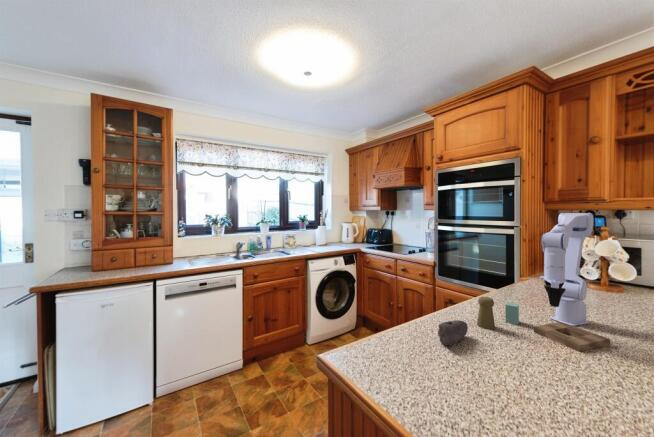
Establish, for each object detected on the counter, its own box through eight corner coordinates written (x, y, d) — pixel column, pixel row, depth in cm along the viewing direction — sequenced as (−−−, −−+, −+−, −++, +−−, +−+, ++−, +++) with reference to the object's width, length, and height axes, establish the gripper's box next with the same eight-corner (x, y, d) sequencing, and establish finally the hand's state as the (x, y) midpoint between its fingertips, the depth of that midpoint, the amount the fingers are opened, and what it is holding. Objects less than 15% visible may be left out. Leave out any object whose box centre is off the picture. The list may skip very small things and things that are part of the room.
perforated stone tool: (459, 332, 96) (460, 313, 95) (474, 338, 91) (474, 318, 91) (432, 343, 88) (432, 322, 88) (446, 350, 84) (446, 328, 83)
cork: (498, 330, 97) (498, 300, 97) (480, 328, 98) (480, 299, 98) (491, 323, 103) (491, 295, 103) (474, 322, 104) (474, 294, 104)
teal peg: (506, 318, 107) (506, 301, 107) (518, 321, 105) (518, 304, 104) (505, 322, 104) (505, 304, 104) (517, 324, 101) (518, 306, 101)
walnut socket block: (561, 327, 99) (561, 321, 99) (609, 345, 86) (610, 339, 86) (533, 332, 95) (533, 326, 95) (579, 351, 82) (579, 345, 82)
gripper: (540, 261, 103) (539, 296, 103) (539, 267, 92) (539, 306, 92) (564, 263, 98) (564, 299, 99) (567, 270, 87) (566, 311, 87)
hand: (554, 303), depth 95 cm, fingers open, 7 cm apart
